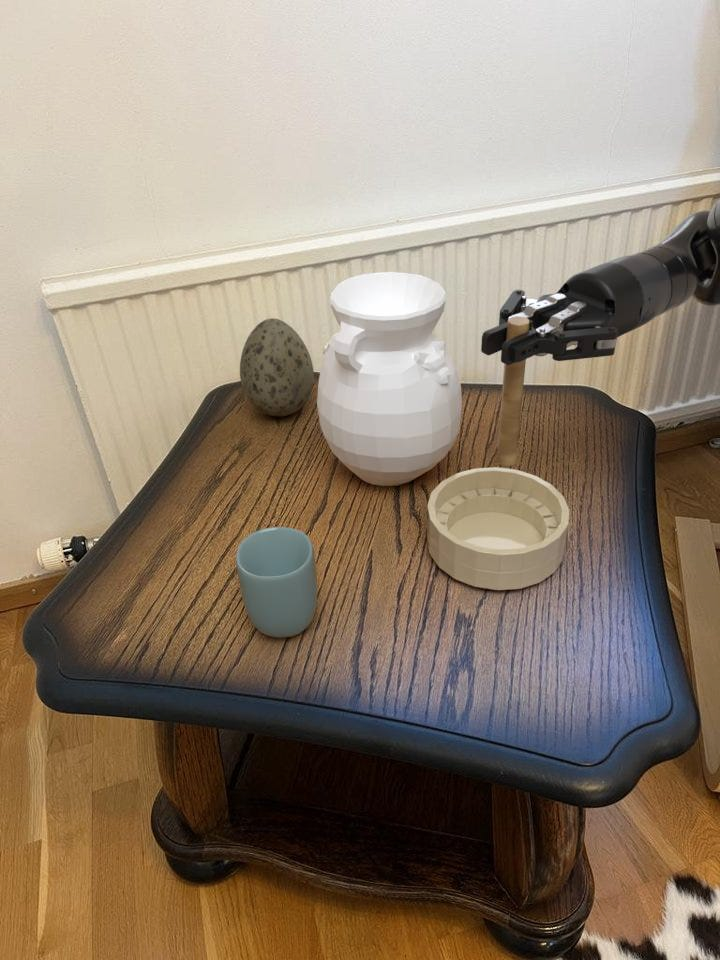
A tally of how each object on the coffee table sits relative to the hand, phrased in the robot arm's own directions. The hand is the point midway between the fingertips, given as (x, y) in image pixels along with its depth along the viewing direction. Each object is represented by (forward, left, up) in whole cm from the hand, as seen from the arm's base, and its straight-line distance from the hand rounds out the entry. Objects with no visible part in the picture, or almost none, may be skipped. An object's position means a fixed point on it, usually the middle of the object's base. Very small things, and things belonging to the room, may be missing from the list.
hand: (494, 349), depth 70 cm
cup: (+14, +18, -27) cm, 36 cm away
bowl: (0, -4, -27) cm, 27 cm away
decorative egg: (+41, -16, -27) cm, 52 cm away
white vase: (+19, -12, -27) cm, 35 cm away
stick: (-1, -3, -14) cm, 14 cm away
